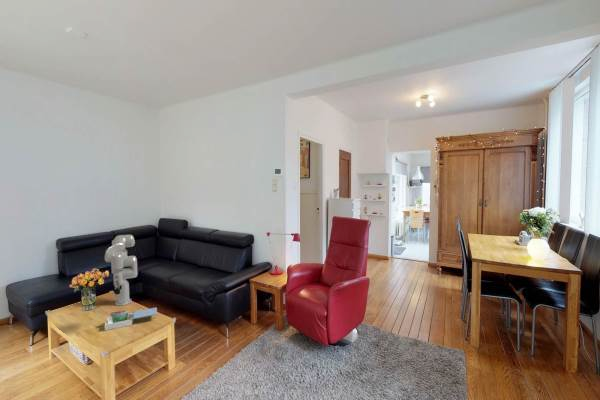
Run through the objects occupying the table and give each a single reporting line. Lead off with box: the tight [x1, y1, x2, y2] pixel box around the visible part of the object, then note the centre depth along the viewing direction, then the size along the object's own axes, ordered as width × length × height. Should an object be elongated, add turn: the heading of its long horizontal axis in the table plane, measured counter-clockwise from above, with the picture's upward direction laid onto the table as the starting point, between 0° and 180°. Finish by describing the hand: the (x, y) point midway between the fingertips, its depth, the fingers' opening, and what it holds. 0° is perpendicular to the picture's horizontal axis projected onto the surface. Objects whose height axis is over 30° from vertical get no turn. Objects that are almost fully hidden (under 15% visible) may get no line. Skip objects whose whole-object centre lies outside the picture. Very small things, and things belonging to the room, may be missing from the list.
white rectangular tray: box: [104, 312, 134, 332], centre depth 213 cm, size 12×17×4 cm
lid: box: [131, 307, 158, 320], centre depth 221 cm, size 12×17×3 cm
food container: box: [110, 309, 130, 323], centre depth 211 cm, size 12×6×10 cm, turn 109°
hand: (118, 291), depth 211 cm, fingers open, 9 cm apart
